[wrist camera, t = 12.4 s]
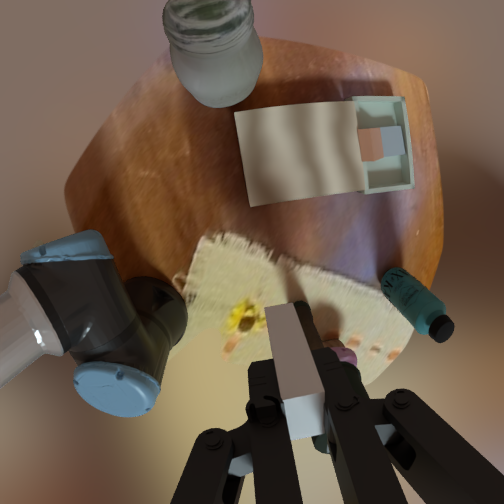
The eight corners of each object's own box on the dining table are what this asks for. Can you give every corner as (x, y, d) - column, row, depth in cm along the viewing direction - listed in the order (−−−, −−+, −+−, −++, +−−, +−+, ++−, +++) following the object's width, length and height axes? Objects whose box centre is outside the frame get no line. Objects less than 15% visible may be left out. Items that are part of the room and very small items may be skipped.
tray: (356, 191, 48) (364, 194, 45) (344, 99, 43) (352, 96, 40) (404, 185, 48) (414, 188, 45) (394, 99, 43) (404, 96, 40)
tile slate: (405, 154, 44) (399, 153, 45) (400, 125, 42) (395, 126, 44) (381, 157, 44) (375, 157, 45) (376, 127, 42) (370, 128, 44)
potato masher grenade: (281, 284, 53) (325, 415, 25) (326, 290, 54) (397, 409, 26) (272, 324, 56) (300, 459, 27) (314, 328, 57) (365, 453, 28)
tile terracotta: (362, 161, 41) (374, 161, 40) (357, 129, 40) (369, 128, 38) (373, 157, 45) (384, 157, 43) (368, 128, 43) (379, 127, 41)
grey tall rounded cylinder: (237, 46, 39) (241, -57, 13) (263, 97, 42) (302, 31, 16) (180, 71, 40) (122, -11, 14) (206, 123, 43) (168, 84, 17)
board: (248, 201, 48) (250, 207, 43) (234, 116, 43) (234, 112, 38) (353, 185, 48) (365, 189, 43) (342, 105, 43) (353, 100, 38)
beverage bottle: (409, 268, 54) (468, 317, 35) (394, 297, 56) (446, 353, 37) (385, 258, 53) (445, 308, 34) (370, 288, 54) (421, 348, 36)
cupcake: (340, 362, 60) (354, 393, 51) (303, 363, 59) (313, 396, 50) (350, 329, 57) (368, 358, 48) (310, 329, 57) (323, 361, 47)
